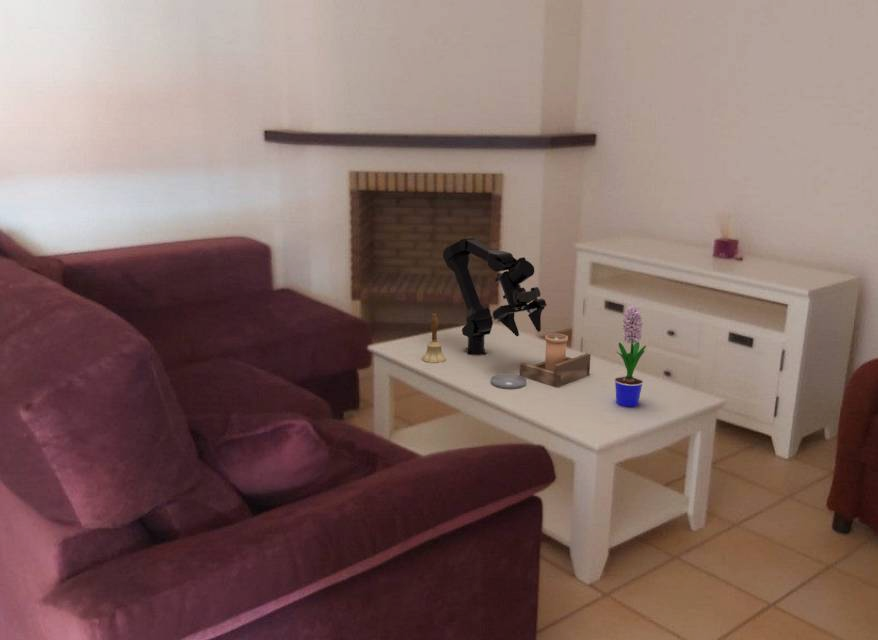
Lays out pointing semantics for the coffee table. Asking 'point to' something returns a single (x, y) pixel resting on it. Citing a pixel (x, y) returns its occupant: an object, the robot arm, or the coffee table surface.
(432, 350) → the hand bell
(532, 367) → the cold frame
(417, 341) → the coffee table surface
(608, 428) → the coffee table surface
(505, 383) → the saucer
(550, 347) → the pot
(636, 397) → the hyacinth
